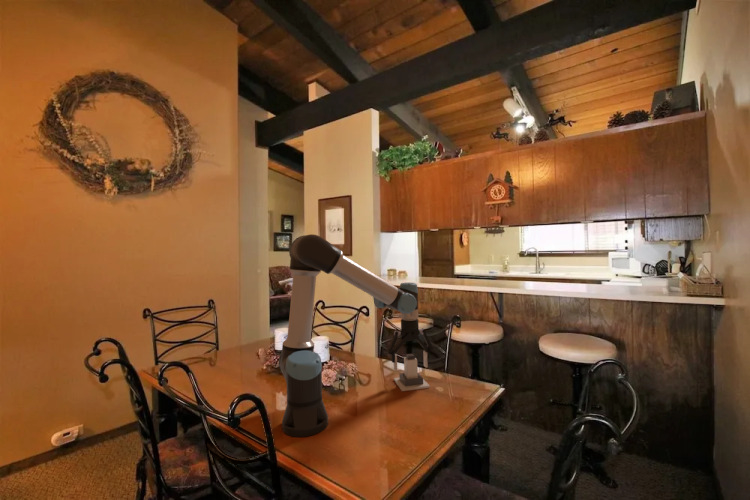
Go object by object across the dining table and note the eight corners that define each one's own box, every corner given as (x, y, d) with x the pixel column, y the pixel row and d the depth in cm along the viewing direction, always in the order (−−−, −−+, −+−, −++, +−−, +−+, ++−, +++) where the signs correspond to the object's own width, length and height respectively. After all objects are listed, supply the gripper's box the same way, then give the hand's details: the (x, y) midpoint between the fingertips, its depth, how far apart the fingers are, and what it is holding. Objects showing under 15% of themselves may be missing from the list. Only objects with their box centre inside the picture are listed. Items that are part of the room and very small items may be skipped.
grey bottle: (407, 384, 142) (407, 357, 142) (404, 380, 146) (403, 353, 146) (417, 383, 143) (417, 356, 143) (414, 379, 147) (413, 352, 147)
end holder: (402, 391, 138) (401, 382, 138) (393, 380, 149) (393, 372, 149) (429, 387, 140) (429, 379, 140) (419, 377, 152) (419, 369, 152)
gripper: (383, 322, 138) (384, 374, 138) (440, 318, 144) (441, 368, 144) (379, 319, 146) (380, 368, 146) (433, 315, 151) (434, 362, 151)
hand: (410, 368), depth 145 cm, fingers open, 13 cm apart
